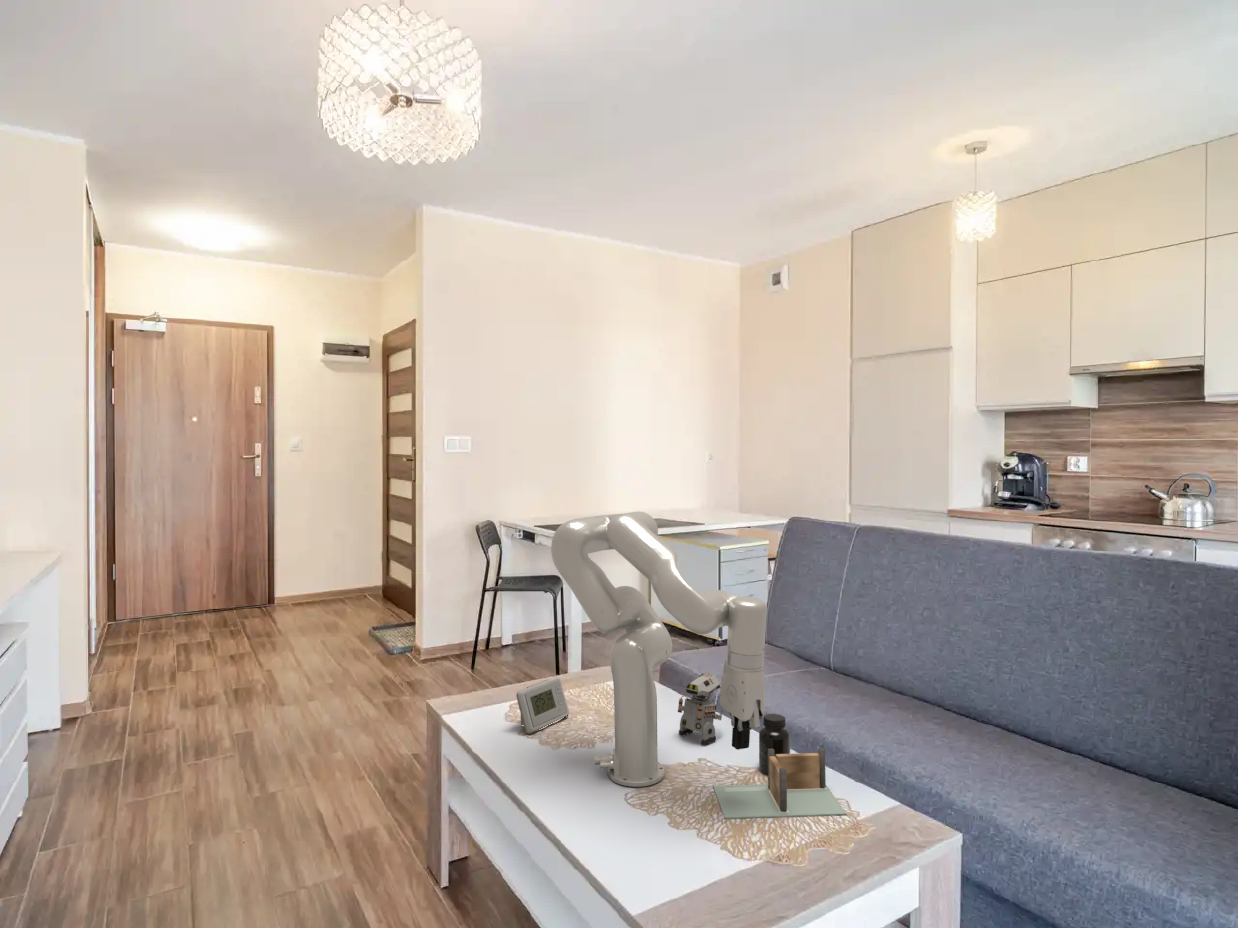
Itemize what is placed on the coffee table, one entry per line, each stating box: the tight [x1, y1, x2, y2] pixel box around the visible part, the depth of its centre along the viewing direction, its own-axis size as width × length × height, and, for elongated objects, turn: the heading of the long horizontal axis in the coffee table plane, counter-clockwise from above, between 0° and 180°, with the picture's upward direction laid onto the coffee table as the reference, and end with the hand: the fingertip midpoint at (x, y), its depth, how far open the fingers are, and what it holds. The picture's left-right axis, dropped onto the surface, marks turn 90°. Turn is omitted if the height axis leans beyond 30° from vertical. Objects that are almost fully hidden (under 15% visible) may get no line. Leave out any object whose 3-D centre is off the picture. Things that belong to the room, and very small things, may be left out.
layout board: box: [713, 783, 848, 820], centre depth 141 cm, size 24×13×1 cm, turn 92°
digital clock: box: [516, 676, 570, 734], centre depth 184 cm, size 16×9×11 cm, turn 132°
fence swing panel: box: [767, 749, 787, 812], centre depth 141 cm, size 11×1×8 cm, turn 2°
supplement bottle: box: [758, 713, 791, 776], centre depth 155 cm, size 7×7×12 cm
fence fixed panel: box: [776, 747, 827, 789], centre depth 146 cm, size 10×1×8 cm, turn 92°
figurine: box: [677, 672, 723, 746], centre depth 174 cm, size 9×12×15 cm
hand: (740, 746), depth 141 cm, fingers closed
